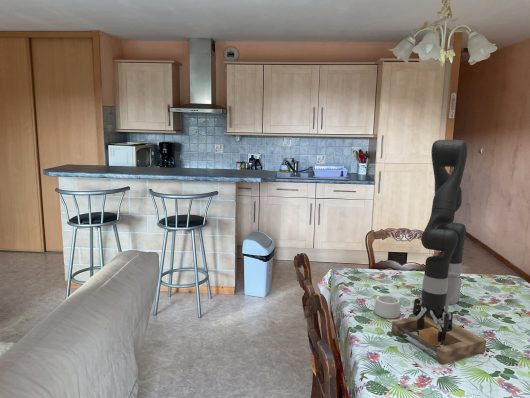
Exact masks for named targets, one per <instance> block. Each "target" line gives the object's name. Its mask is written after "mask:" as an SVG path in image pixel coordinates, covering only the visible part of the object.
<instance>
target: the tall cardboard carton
mask: <svg viewBox="0 0 530 398" xmlns="http://www.w3.org/2000/svg"><path fill="white" fill-rule="evenodd" d="M438 331H439V330H437V329H436V328H434V327H430V328H426V329H422V330H418V332H419V333H418V337H419V338H420V339H422V340H424V341H425V342H427V343H429V344H430V345H432V346H434V347H437V346H440V345H442V342H439V341H438ZM417 342H418V341H417ZM418 343H419V344H420V345H421V346H423V347H425V348H426V349H429V348H428V347H426V346H425V345H423V344H422V343H420V342H418Z"/></svg>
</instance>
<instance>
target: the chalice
mask: <svg viewBox="0 0 530 398" xmlns="http://www.w3.org/2000/svg"><path fill="white" fill-rule="evenodd" d="M461 277H462V276H461V275H459V274H456V273H453V272H448V289H447V298H446V304H445V306H444V310H445V312H447V313H449V312H448V311H449V310H450V308H449V306H450V304H449V299H452V298H453V296H454V295H455V294H456V292H457V290H458V284H459V279H461Z"/></svg>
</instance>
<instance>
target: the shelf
mask: <svg viewBox="0 0 530 398" xmlns="http://www.w3.org/2000/svg"><path fill="white" fill-rule="evenodd" d="M423 319H425V320H424V329H426V328H430V327H434V328H436V329H437V330H439V329H438V326H437V325H436V324H435V322H434V320H432V319H430V318H428V317H424V318H423ZM438 321H441V319H438ZM441 326H442V324H441ZM417 328H418V327H417V317H416V316H415V315H413V316H411V317H407V318H401V319H397V320H393V321H391V330H390V331H391V333H392V334H394V336H400V335H403V334H405V335H407V336H409V337H410V338H412V339H414V340H415V341H417V342H420V343H422V344H423V345H425V346H426V347H428V348H427V349H430V350H431V351H433V352H434V353H435V361H436V362H437V363H439V364H441V365H446V364H450V363H452V362H455V361H459V360H463V359H467V358H469V357H472V356H475V355H479V354H482V353H485V352H486V345H487V339H485V338H484V337H481V336H479V335H477V334H475V333H473V332H471V331H469V330H467V329H465V328H463V327H462V326H460V325H457V324H455V323H454V322H453V323H452V331H449V332H446V336H445V340H444V341H442V342H441V343H442V344H444V346H441V347H436V346H432V345H430V344H429V343H427V342H425V341H424V340H422V339H420V338H419V336H417V335H415V334H414V333H413V332H415V331H416V332H417V331H419V330H418V329H417ZM420 343H419V344H420ZM422 344H421V345H422ZM423 345H422V346H423ZM425 346H424V347H425ZM426 347H425V348H426Z"/></svg>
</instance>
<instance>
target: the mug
mask: <svg viewBox="0 0 530 398" xmlns="http://www.w3.org/2000/svg"><path fill="white" fill-rule="evenodd" d="M373 310H374V311H373V312H374V313H375V315H376V316H378V317H380V318H384V319H389V320H390V319H392V320H393V319H397V318H398V317H400V316H401V301H400V299H399V298H398V297H396V296H393V295H390V294H381V295H377V296H376V298H375V303H374V309H373Z"/></svg>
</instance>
